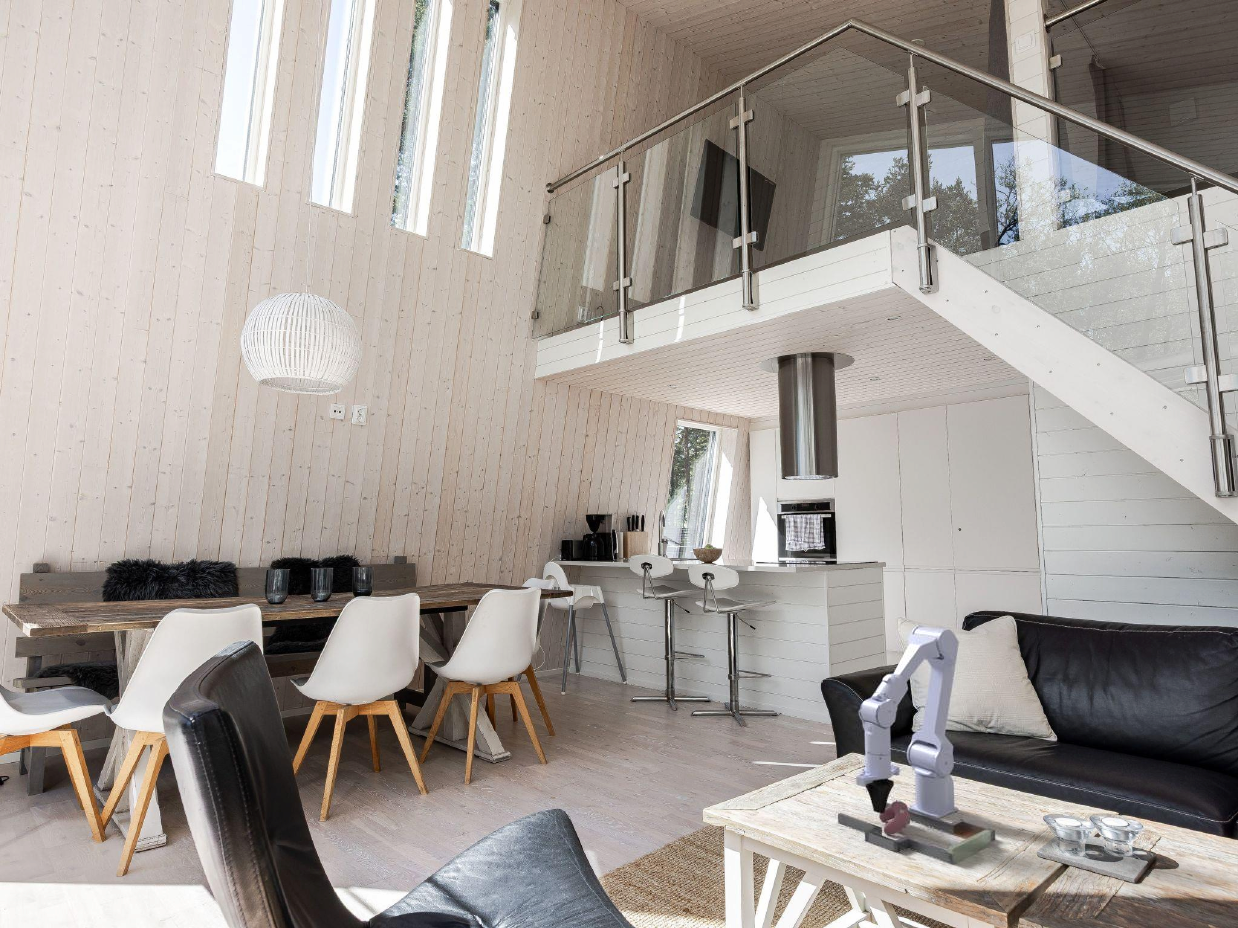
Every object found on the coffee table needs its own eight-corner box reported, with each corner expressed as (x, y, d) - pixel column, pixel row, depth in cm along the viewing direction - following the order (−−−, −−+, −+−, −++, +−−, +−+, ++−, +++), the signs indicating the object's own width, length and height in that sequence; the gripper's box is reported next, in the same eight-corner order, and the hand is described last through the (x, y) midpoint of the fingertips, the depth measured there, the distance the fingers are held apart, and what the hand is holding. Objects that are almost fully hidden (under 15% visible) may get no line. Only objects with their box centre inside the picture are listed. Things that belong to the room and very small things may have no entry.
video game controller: (901, 843, 170) (915, 816, 169) (882, 832, 171) (896, 805, 170) (895, 827, 179) (908, 801, 179) (877, 816, 180) (890, 790, 180)
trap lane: (887, 804, 190) (886, 791, 190) (999, 840, 168) (999, 826, 168) (827, 826, 175) (827, 813, 176) (942, 869, 153) (942, 853, 154)
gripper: (880, 743, 187) (881, 800, 186) (844, 753, 178) (845, 813, 177) (906, 749, 182) (908, 808, 180) (871, 760, 173) (872, 822, 172)
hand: (879, 811), depth 178 cm, fingers closed
